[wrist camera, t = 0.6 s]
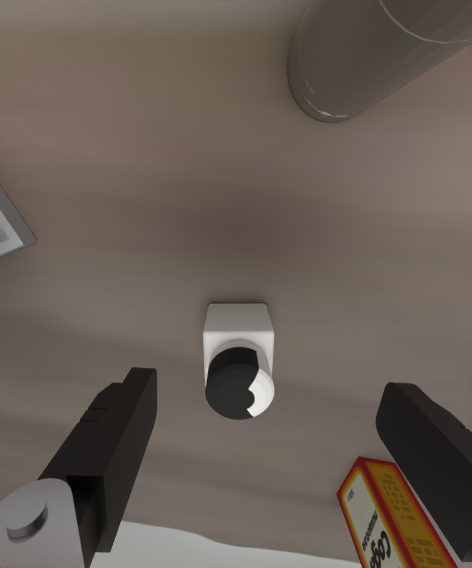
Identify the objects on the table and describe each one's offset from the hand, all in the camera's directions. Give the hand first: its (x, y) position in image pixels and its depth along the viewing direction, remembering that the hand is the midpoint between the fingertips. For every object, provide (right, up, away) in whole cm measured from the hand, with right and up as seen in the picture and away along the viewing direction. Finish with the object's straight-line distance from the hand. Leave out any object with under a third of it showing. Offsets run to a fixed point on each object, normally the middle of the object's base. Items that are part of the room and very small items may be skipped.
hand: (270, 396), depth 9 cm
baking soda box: (+21, -29, +34) cm, 50 cm away
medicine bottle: (-1, -2, +24) cm, 24 cm away
